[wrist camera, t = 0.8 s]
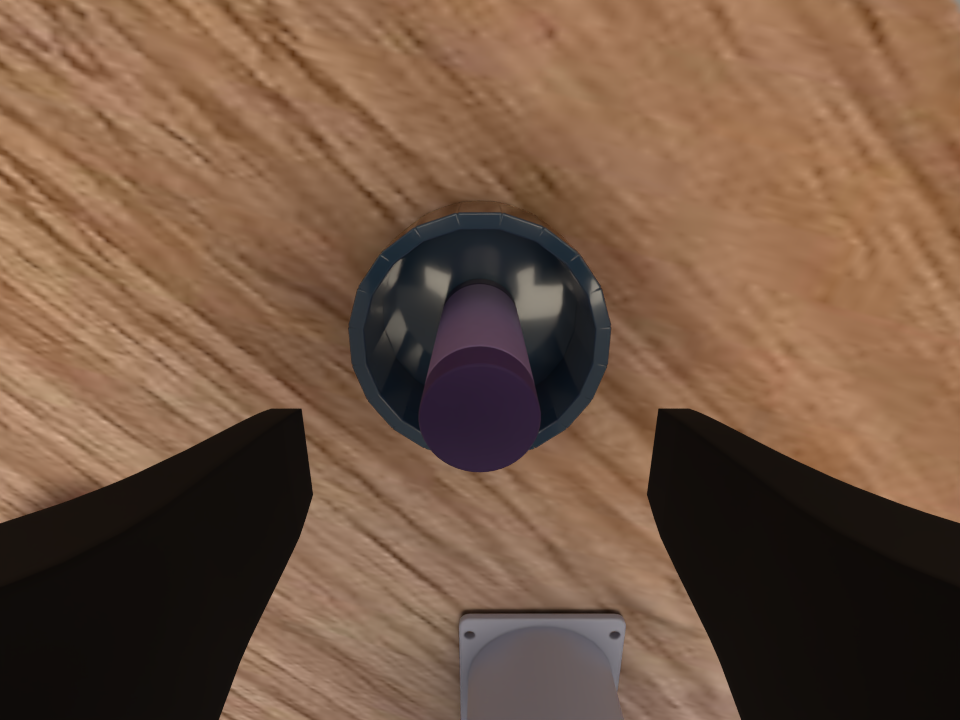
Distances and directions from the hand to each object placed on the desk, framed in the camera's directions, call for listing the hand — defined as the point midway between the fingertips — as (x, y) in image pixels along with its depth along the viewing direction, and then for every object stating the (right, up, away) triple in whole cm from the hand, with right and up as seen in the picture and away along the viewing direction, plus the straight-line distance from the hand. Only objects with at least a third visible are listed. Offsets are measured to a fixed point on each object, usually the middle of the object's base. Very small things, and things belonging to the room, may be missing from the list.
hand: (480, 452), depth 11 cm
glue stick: (0, +4, +9) cm, 10 cm away
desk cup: (0, +4, +10) cm, 10 cm away
